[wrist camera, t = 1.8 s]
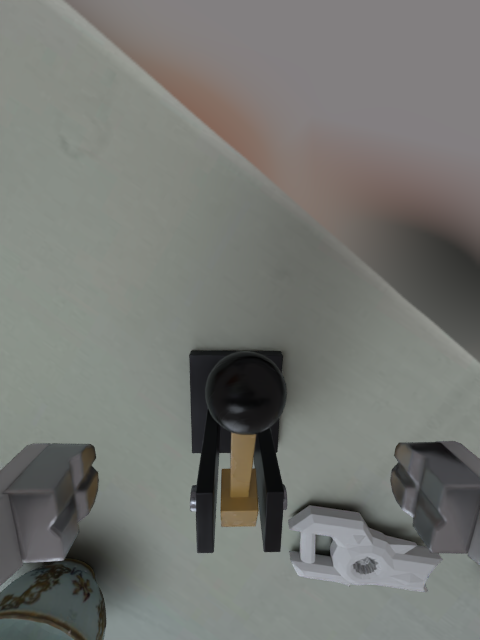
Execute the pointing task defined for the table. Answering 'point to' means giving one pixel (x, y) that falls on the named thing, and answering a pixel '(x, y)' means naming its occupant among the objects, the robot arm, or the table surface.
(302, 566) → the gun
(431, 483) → the robot arm
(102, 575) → the table surface
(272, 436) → the bracket
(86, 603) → the bowl
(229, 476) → the lever
